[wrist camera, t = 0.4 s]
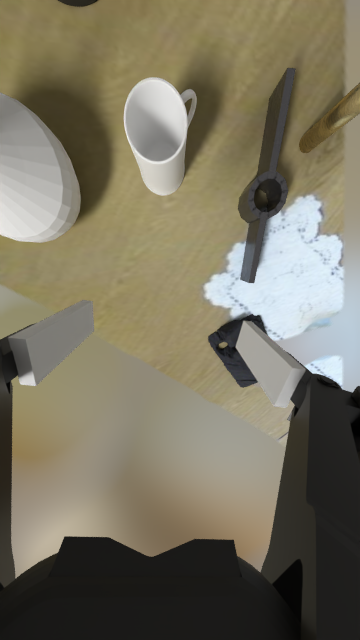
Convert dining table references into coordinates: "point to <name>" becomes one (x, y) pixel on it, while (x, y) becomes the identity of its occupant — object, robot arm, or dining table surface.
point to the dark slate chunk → (234, 349)
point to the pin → (332, 121)
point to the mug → (159, 132)
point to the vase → (34, 177)
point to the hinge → (266, 177)
